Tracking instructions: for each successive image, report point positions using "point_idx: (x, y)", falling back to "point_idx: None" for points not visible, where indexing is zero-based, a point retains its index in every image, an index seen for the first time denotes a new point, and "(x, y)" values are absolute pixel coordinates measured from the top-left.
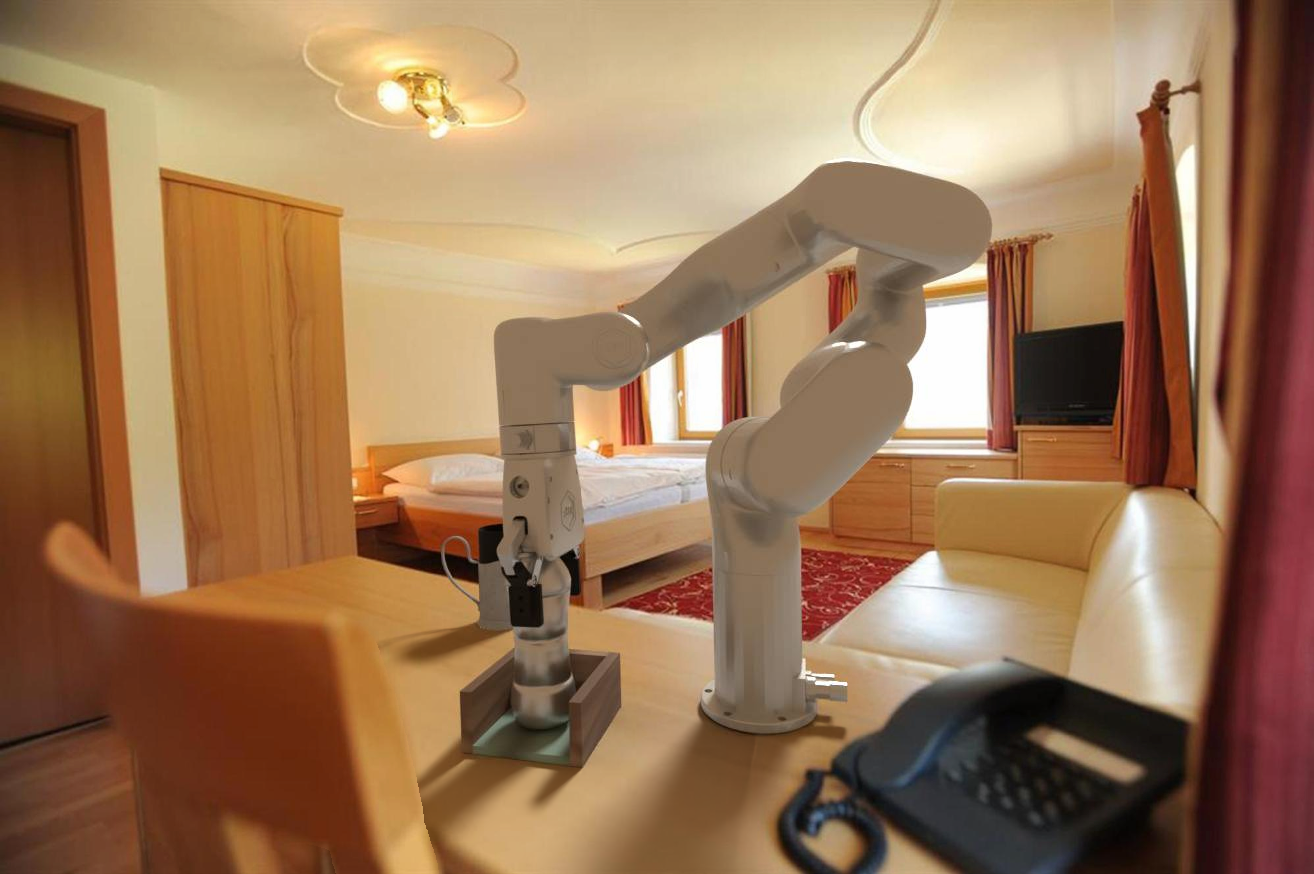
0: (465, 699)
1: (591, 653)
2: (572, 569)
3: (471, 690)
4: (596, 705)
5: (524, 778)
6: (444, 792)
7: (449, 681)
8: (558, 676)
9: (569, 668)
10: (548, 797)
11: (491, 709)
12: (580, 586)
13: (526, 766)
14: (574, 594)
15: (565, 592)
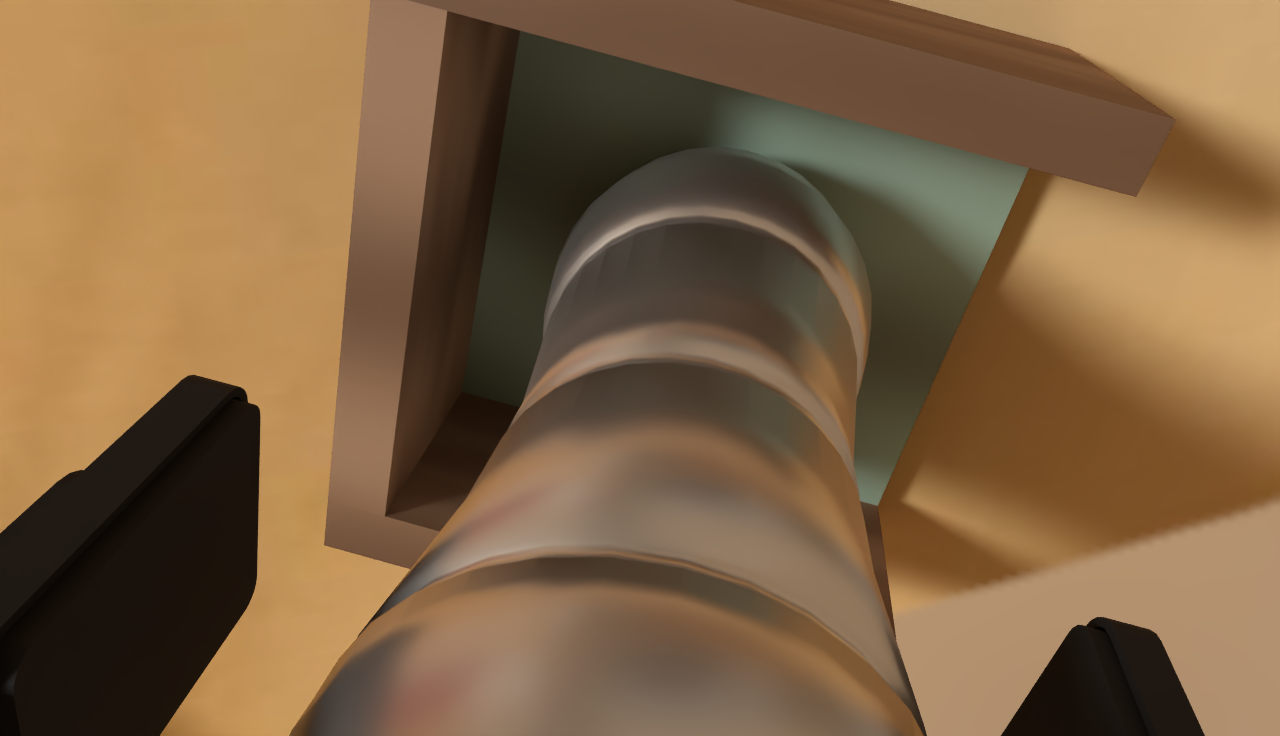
0: None
1: (406, 122)
2: (98, 620)
3: None
4: (888, 23)
5: (1091, 282)
6: (1111, 524)
7: (323, 653)
8: (820, 295)
9: (722, 243)
10: (1260, 170)
11: None
12: (167, 411)
13: (1002, 288)
14: (259, 428)
15: (760, 594)
